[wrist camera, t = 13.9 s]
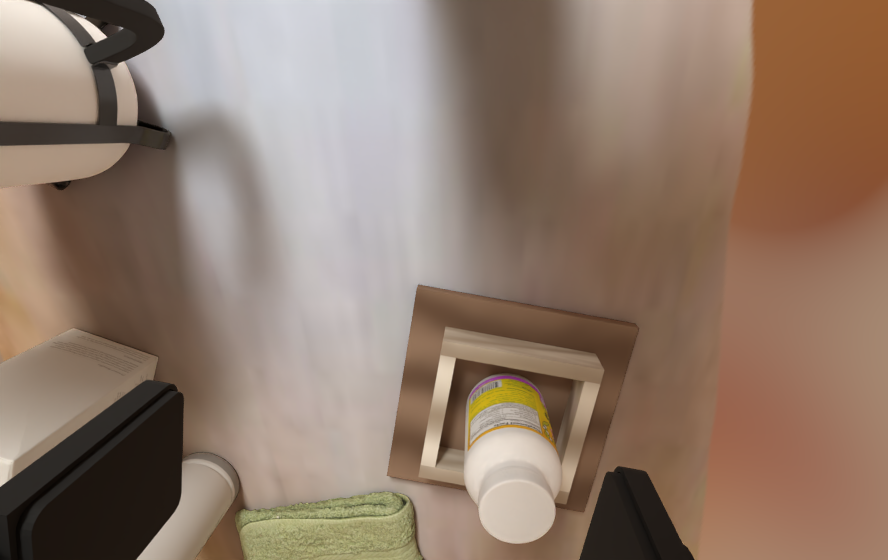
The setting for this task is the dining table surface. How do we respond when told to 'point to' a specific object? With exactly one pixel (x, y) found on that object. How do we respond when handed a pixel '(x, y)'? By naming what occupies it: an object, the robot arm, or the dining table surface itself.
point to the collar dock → (516, 352)
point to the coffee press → (70, 88)
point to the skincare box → (61, 392)
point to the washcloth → (332, 530)
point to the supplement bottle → (511, 458)
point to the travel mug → (195, 508)
